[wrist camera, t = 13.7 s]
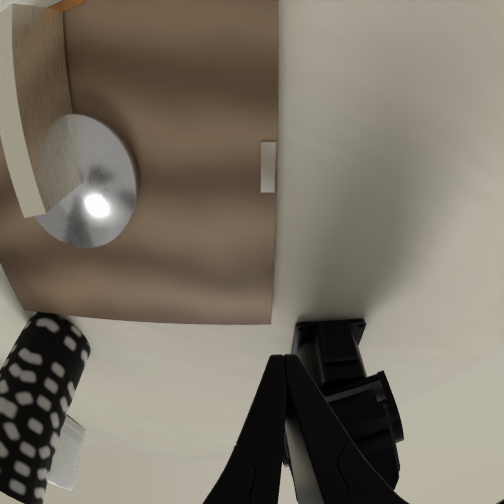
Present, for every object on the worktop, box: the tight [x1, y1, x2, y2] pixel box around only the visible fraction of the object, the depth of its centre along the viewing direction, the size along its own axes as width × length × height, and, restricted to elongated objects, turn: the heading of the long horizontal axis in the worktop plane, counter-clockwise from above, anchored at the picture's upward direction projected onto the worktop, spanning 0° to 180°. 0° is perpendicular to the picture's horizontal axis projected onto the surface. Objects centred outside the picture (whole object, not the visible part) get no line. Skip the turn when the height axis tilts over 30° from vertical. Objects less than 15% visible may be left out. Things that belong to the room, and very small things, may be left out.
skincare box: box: [47, 416, 86, 491], centre depth 37 cm, size 8×7×16 cm
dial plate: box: [0, 0, 278, 325], centre depth 17 cm, size 25×25×2 cm
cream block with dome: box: [0, 4, 139, 248], centre depth 12 cm, size 16×9×5 cm, turn 5°
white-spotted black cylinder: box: [0, 311, 90, 504], centre depth 19 cm, size 8×8×20 cm
